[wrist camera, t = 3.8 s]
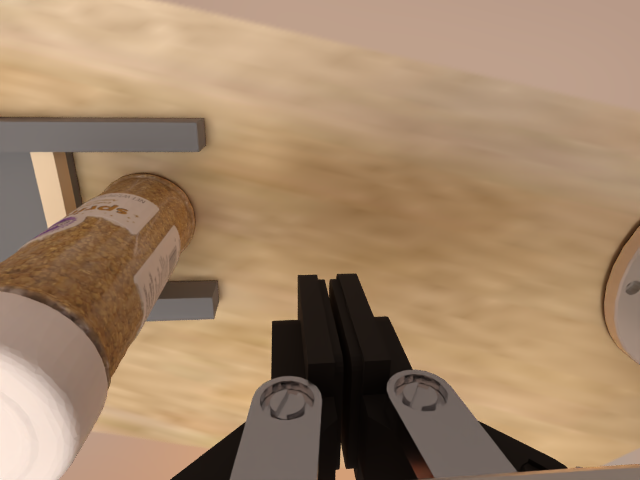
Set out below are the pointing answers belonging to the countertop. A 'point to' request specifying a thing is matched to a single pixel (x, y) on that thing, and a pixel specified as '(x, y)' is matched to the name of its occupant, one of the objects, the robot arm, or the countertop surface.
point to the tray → (63, 191)
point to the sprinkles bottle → (80, 316)
